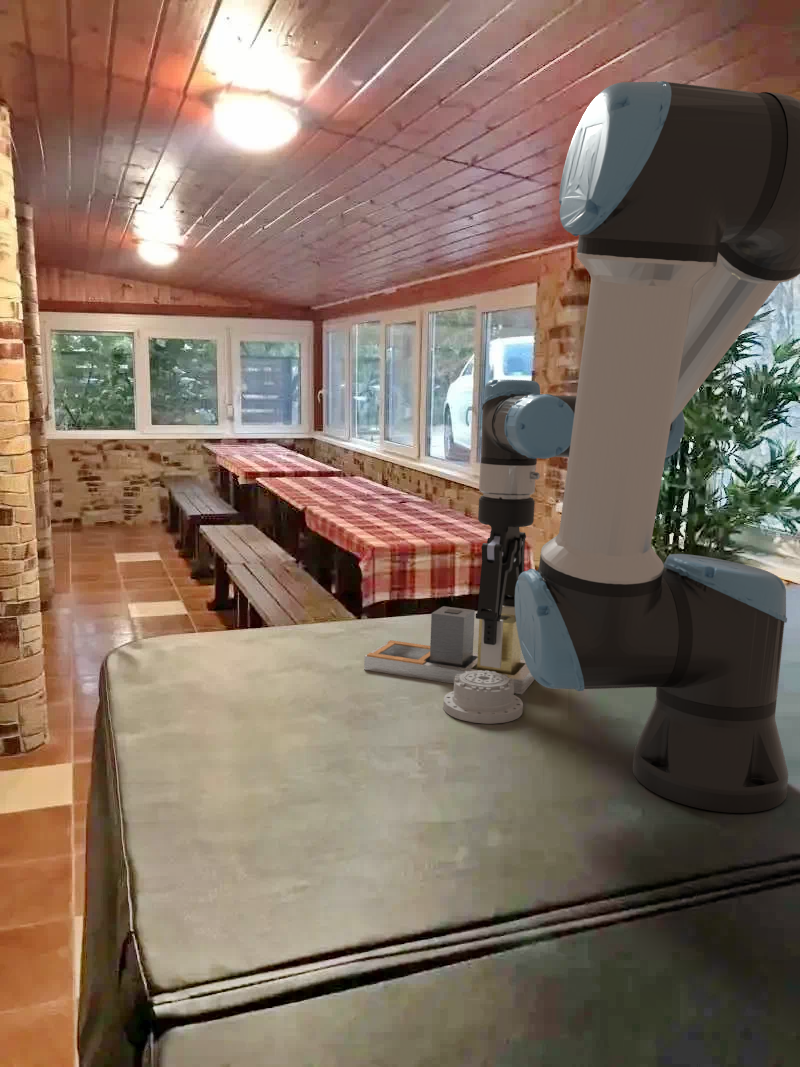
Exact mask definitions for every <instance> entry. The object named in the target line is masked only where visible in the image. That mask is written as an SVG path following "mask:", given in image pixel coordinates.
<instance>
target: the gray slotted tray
mask: <svg viewBox="0 0 800 1067" xmlns="http://www.w3.org/2000/svg"><path fill="white" fill-rule="evenodd" d="M363 659H364V660H363V662H364V663H363V666H364V667H363V668H364V670H365V671H371V672H376V673H382V674H383V673H384V674H390V675H395V676H396V675H397V676H403V677H408V678H416V679H422V680H428V681H433V682H440V683H447V684H453V685H454V679H455V676H456V675H457V674H463V673H465V671H469V672H470V671H478V670H477V661H478V652H477V653H476V652H473V661H472V663H471V664H469V665H468V666H467V667H466V668H461V667H454V666H448V665H441V664H434V663H430V645H426V644H421V643H414V642H405V641H399V640H390V639H389V640H388V641H387V642H385V643H384V644H382V645H381V646H378V647H377V648H376V649H373V650H371V651H370V652H369V653H367V654H365V655H364V658H363ZM499 674H501V673H499ZM502 675H504V674H502ZM505 675H508V674H505ZM508 678H509V679H513V680H514V681H513V682H514V694H517V695H523V694H524V693H525V692H526V690H528V688H529V687H530V686H531V684H533V682H534V681H536V680H535V679H534V677H533V676H532V675H531V673H530V671H529V669H528V667H527V665H526V662H525V659H520V670H519V671H518V672H517V673H516V674H515V676H514V675H508Z"/></svg>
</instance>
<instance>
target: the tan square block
mask: <svg viewBox="0 0 800 1067" xmlns="http://www.w3.org/2000/svg"><path fill="white" fill-rule="evenodd" d="M478 620H479V622H478V638H477V639H478V644H477V653H478V661H477V670H482V671H486V670H487V671H490V672H492V671H495V672H496V673H501V674H508V675H514V676H515V674H516V673H517V672H518V671H519V670H520V660H521V653H522V650H521V646H520V642H519V637H518V631H517V625H516V616H515V615H510V614H501V619H500V620H503V637H502V658H501V667H500V668H494V667H487V666H481V665H480V660H481V637H482V619H478Z"/></svg>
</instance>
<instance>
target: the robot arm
mask: <svg viewBox="0 0 800 1067" xmlns="http://www.w3.org/2000/svg"><path fill="white" fill-rule="evenodd" d="M577 125H578V126H576V129H575V131H574V134H573V137H572V139H571V143H570V145H569V147H568V148H569V149H568V151H567V154H566V159H565V163H564V166H563V171H562V175H561V180H560V186H559V195H558V196H559V197H558V203H559V204H560V208H559V219H560V223H561V225H562V227H563V229H564V230H565V231H566V232H567V233H570V234H571V235H572V236H574V237H578V240H577V250H576V258H577V259H578V260H579V261H580V263H581V264H582V265H583V267H584V268H585V269H586V271H587V272H588V274H589V276H590V279H591V280H590V281H591V282H590V288H589V295H588V302H587V303H588V304H587V311H586V312H587V313H586V319H585V326H584V327H585V328H584V336H583V343H582V351H581V359H580V366H579V374H578V383H577V391H576V395H554V394H549V393H541V386H540V384H539V382H537V381H536V380H529V379H527V380H526V379H491V380H489V381H487V382H486V383H485V385H484V390H483V400H482V403H481V409H482V419H481V420H482V425H481V448H480V449H481V451H480V464H479V485H478V486H479V487H478V490H479V492H480V493H482V494H483V495H481V496H480V497H479V498H478V518H477V520H478V522H479V523H480V524H482V525H486V526H489V527H490V528H491V530H490V534H489V537H488V538H487V540H486V542H483V543H482V545H481V567H480V577H479V578H480V581H479V592H478V600H477V601H478V602H477V603H478V604H477V612H476V613H475V619H477V620H479V619H482V637H481V660H480V665H481V666H487V667H494V668H500V667H501V658H502V637H503V620H500V619H501V614H510V615H515V616H516V625H517V631H518V637H519V642H520V646H521V653H522V656H523V658H524V659H523V660H525V662H526V665H527V667H528V669H529V671H530V673H531V675H532V676H533V677H534V679H535V680H534V681H536V682H537V683H538V684H539V685H541V686H543V687H544V688H547V689H551V690H552V689H553V690H554V689H555V690H556V689H557V690H558V689H559V690H575V691H577V692H584V690H599V689H600V690H602V689H603V690H604V689H609V690H610V689H639V688H642V689H644V688H656V689H655V698H654V699H655V700H654V702H653V705H652V708H651V710H650V712H649V714H648V717H647V719H646V722H645V723H644V726H643V728H642V730H641V732H640V735H639V738H638V739H637V742H636V744H635V747H634V750H633V762H632V772H633V775H634V777H635V779H636V780H637V781H638V782H639V783H640V784H641V785H642V786H644V787H645V788H646V789H648V790H649V791H651V792H652V793H655V794H657V795H658V796H661V797H663V798H665V799H667V800H669V801H672V802H675V803H678V804H680V805H685V806H688V807H692V808H694V809H695V808H696V809H701V810H706V811H712V812H720V813H733V814H746V813H747V814H748V813H758V812H763V811H768V810H771V809H774V808H776V807H778V806H780V805H781V804H783V802H784V801H785V800H786V798H787V796H788V795H787V794H788V785H789V770H788V765H787V762H786V758H785V755H784V749H783V746H782V742H781V738H780V734H779V729H778V726H777V722H776V709H777V701H778V693H779V692H778V691H779V682H780V681H779V680H780V672H781V671H780V670H781V660H782V651H783V639H784V632H785V631H784V630H785V624H786V623H787V621H788V618H787V589H786V586H785V583H784V582H783V580H782V578H780V577H779V576H778V575H776V574H775V573H773V572H770V571H768V570H766V569H761V568H759V567H757V566H756V567H755V566H751V565H747V564H743V563H740V562H736V561H729V560H725V559H721V558H715V557H710V556H709V557H708V556H703V555H698V554H697V555H696V554H695V555H694V554H687V553H671V554H669V555H667V557H666V559H665V561H664V562H663V561H662V559H661V558H660V557H659V555H658V554H657V553H656V552H655V551H654V549H653V548H652V539H653V532H654V528H655V527H654V526H655V521H656V515H657V510H658V503H659V497H660V491H661V484H662V479H663V472H664V468H665V461H666V459H667V458H670V457H671V456H673V455H675V453H676V452H678V450H679V448H680V446H681V441H682V440H681V439H682V438H683V437H684V433H685V414H684V412H683V409H684V408H685V407H686V406H687V404H688V403H689V401H691V399H692V398H693V396H694V395H695V394H696V392H698V390H699V389H700V387H701V386H702V384H704V383H705V381H706V379H707V378H708V377H709V376H710V375H711V373H712V372H713V370H714V369H715V368H716V366H717V365H718V364H719V363H720V362H721V360H722V359H723V357H724V356H726V353H727V352H728V351H729V349H730V348H731V347H732V345H733V344H734V343H736V342H735V341H736V340H737V339H738V338H739V336H740V335H741V334H742V332H744V330H745V329H746V327H747V326H748V325H749V323H750V322H751V321H752V319H753V318H754V317H755V315H756V314H757V313H758V311H759V310H760V309H761V308H762V306H763V305H764V304H765V302H766V301H767V300H768V298H769V297H770V296H771V294H772V293H774V291H775V289H776V288H777V287H778V286H779V284H781V283H786V282H788V281H792V280H794V279H795V278H797V277H798V276H799V275H800V99H798V98H795V97H794V96H791V95H788V94H784V93H783V94H782V93H779V92H770V91H761V92H753V91H747V90H738V89H731V88H722V87H721V88H720V87H714V86H713V87H712V86H707V85H706V86H705V85H697V84H688V83H677V82H672V81H671V82H669V81H666V80H665V81H664V80H661V81H660V80H659V81H657V80H656V81H633V82H632V81H625V82H624V81H623V82H616V83H614V84H611V85H609V86H608V87H606V88H604V89H603V90H602V91H601V92H599V93H598V94H597V95H596V96H595V98H593V100H592V101H591V102H590V103H589V105H588V107H587V108H586V110H585V112H584V113H583V115H582V117H581V118H580V120H579V123H578V124H577ZM550 458H568V460H567V461H568V462H567V468H566V477H565V482H564V483H565V485H564V493H563V499H562V500H563V501H562V509H561V516H560V522H559V523H560V524H559V530H558V531H559V532H558V533H557V535H555V537H553V538H552V539H549V541H547V542H546V543H544V544H543V546H542V547H541V549H540V550H541V551H540V555H539V565H538V569H537V570H536V569H535V568H528V570H525V546H526V538H527V534H526V532H524V531H521V530H520V528H525V527H530V526H531V525H532V524H533V523H534V520H535V502H536V501H535V499H534V498H533V497H531V495H533V494H534V493H535V492H536V480H539V479H540V477H541V475H540V472H538V471H536V469H537V462H538V459H542V460H545V459H550Z"/></svg>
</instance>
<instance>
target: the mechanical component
mask: <svg viewBox="0 0 800 1067" xmlns="http://www.w3.org/2000/svg"><path fill="white" fill-rule="evenodd" d="M513 681H514V680H513V679H509V678H508V675H505V674H504V675H502V674H499V673H496V672H495V671H492V672H490V671H487V670H486V671H482V670H478V671H470V672H469V671H465V673H463V674H457V675H456V676H455V679H454V684H453V691H449V692H448V693H447V694H445V695H444V696H443V704H442V705H443V707H442V708H443V711H444V712H445V713H446V714H448V715H449V716H451V717H452V718H455V719H457V720H461V721H466V722H468V723H475V724H491V725H492V724H502V723H503V724H504V723H508V722H513V721H515V720H518V719H519V718H520V717H521V716H522V715H523V710H524V704H523V701H522V699H521V698H520V697H518V696H517V695H514V694H515V693H514V682H513Z"/></svg>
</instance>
